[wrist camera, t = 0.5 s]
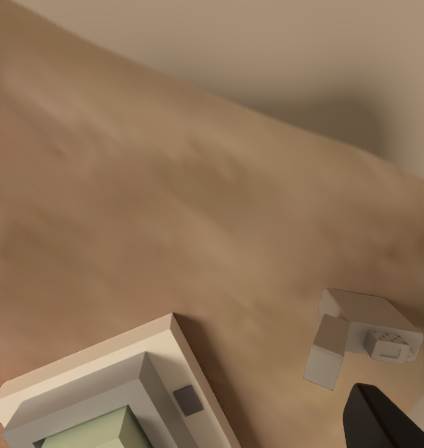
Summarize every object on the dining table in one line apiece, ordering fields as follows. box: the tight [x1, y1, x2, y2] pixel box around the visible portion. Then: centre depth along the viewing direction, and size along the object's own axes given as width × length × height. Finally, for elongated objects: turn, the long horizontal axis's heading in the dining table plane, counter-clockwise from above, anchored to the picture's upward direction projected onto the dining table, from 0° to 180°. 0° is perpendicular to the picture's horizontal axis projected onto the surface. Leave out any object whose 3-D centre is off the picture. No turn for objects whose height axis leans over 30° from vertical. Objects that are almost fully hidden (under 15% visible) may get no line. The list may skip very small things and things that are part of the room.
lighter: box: [303, 288, 424, 391], centre depth 20 cm, size 7×2×8 cm, turn 79°
